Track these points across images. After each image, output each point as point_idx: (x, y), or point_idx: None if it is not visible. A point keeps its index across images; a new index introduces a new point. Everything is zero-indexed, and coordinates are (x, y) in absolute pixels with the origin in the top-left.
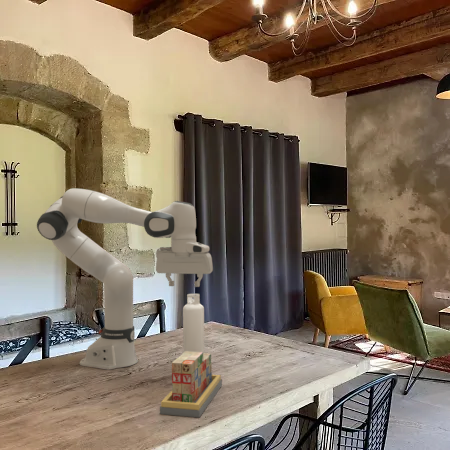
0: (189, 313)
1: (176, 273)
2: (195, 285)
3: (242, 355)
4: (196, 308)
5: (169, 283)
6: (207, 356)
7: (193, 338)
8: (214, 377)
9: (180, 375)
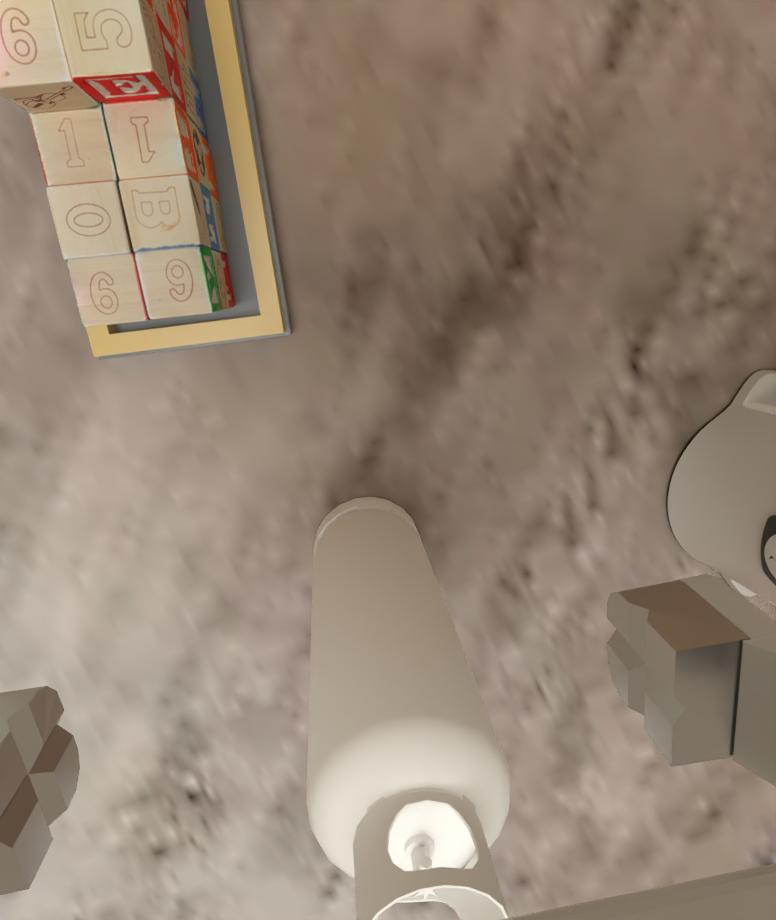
0: (404, 691)
1: (695, 888)
2: (2, 702)
3: (221, 782)
4: (346, 756)
5: (727, 598)
6: (68, 248)
7: (355, 582)
8: (123, 332)
9: None
